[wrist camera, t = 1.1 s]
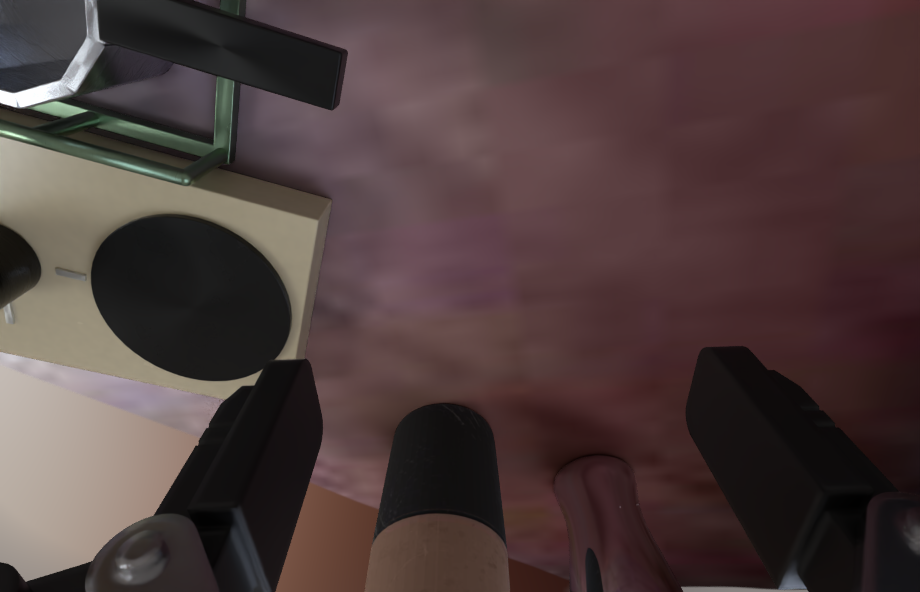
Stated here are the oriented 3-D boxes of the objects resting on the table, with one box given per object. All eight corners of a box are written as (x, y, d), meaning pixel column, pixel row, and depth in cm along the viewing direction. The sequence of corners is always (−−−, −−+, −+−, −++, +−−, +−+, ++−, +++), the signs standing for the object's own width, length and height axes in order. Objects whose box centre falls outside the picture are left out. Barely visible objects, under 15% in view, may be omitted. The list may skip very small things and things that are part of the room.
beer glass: (628, 513, 40) (708, 762, 27) (541, 510, 39) (579, 757, 26) (651, 452, 36) (756, 703, 23) (555, 447, 36) (607, 698, 23)
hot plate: (-18, 310, 30) (-65, 341, 27) (-67, 88, 24) (-135, 100, 21) (300, 381, 33) (286, 415, 30) (332, 199, 27) (317, 221, 24)
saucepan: (-34, -189, 19) (-245, -271, 13) (387, -42, 21) (360, -57, 16) (2, 48, 23) (-148, 63, 17) (351, 150, 25) (319, 193, 20)
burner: (88, 188, 23) (82, 191, 23) (303, 245, 25) (301, 248, 24) (101, 354, 28) (96, 358, 28) (281, 393, 29) (279, 398, 29)
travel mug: (471, 487, 38) (479, 889, 21) (376, 460, 37) (299, 867, 19) (516, 419, 35) (569, 836, 17) (412, 386, 33) (357, 805, 16)
